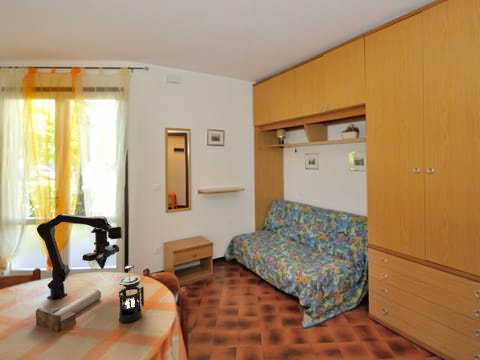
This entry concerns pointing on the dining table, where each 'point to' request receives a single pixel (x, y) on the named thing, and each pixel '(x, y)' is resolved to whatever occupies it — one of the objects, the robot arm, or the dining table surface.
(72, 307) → the tube
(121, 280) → the french press
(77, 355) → the dining table surface
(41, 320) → the socket
